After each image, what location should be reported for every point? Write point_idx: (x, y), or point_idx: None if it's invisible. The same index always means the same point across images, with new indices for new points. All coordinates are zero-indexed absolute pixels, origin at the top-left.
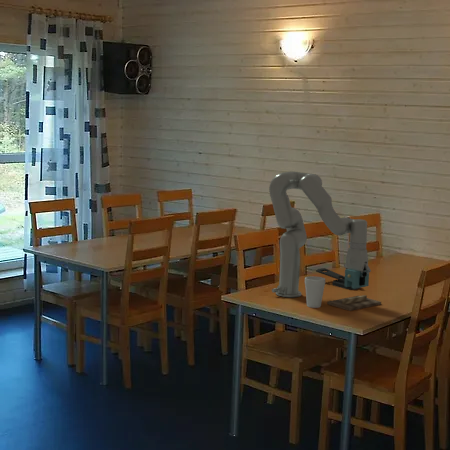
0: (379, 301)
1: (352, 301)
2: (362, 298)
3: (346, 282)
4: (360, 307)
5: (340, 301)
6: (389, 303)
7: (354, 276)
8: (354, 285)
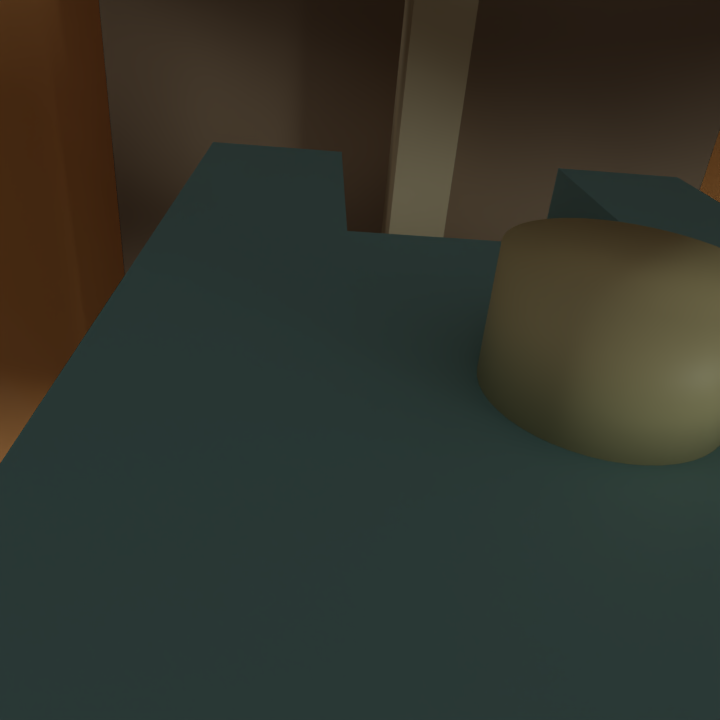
0: None
1: (386, 197)
2: None
3: (655, 218)
4: (115, 89)
5: (600, 56)
6: None
7: (81, 382)
8: (191, 178)
